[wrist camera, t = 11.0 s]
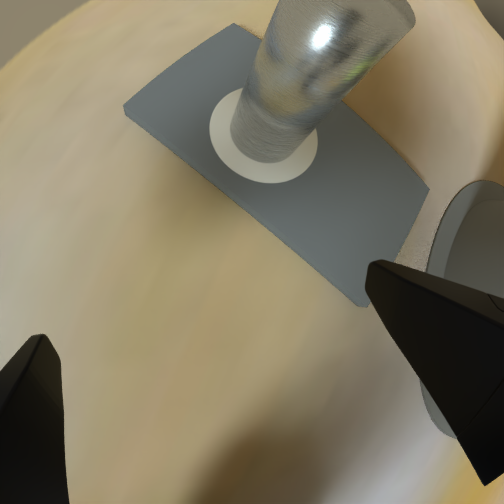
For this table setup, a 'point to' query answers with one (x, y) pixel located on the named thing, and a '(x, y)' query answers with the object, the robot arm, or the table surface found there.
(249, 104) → the metal pin
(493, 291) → the grey tapered cylinder
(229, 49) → the mat
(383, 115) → the table surface
